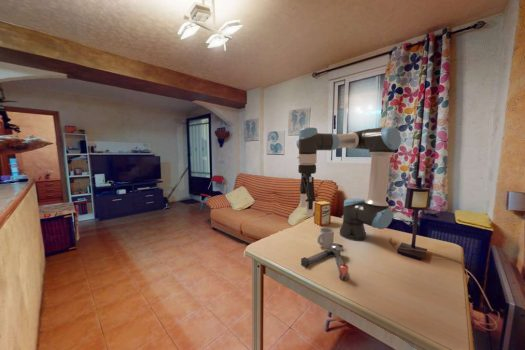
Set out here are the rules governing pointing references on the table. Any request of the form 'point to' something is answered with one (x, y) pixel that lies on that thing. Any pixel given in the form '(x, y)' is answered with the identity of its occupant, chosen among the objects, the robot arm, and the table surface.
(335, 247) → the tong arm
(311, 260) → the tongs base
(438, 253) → the table surface
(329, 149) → the robot arm
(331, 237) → the cup
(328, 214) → the baking soda box
